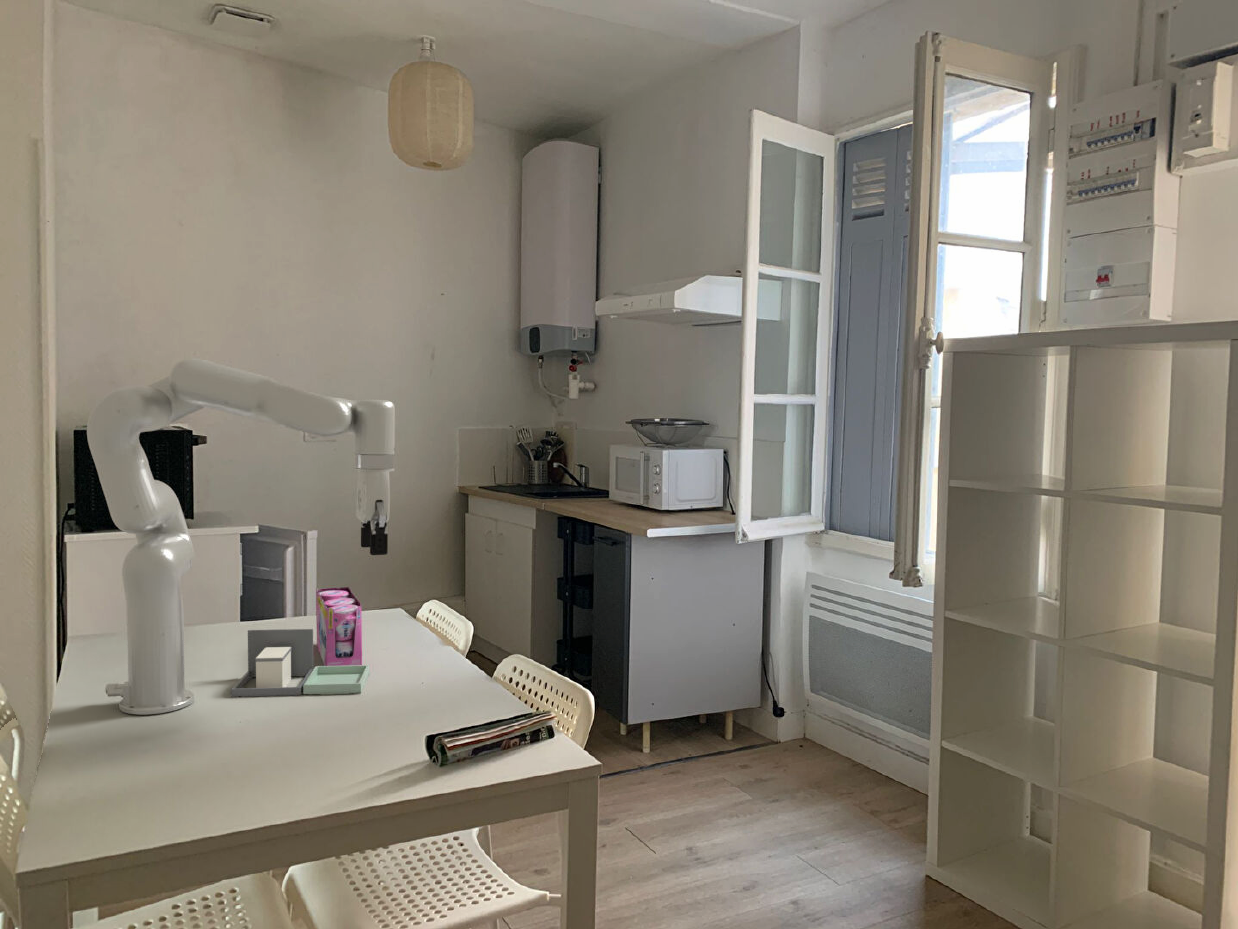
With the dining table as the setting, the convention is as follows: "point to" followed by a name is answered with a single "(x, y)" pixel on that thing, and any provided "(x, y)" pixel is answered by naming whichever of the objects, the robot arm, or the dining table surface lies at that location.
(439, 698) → the dining table surface
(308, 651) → the holder
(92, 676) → the dining table surface
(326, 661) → the gum box
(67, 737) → the dining table surface
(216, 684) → the dining table surface
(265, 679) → the cream upright block
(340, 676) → the tray
